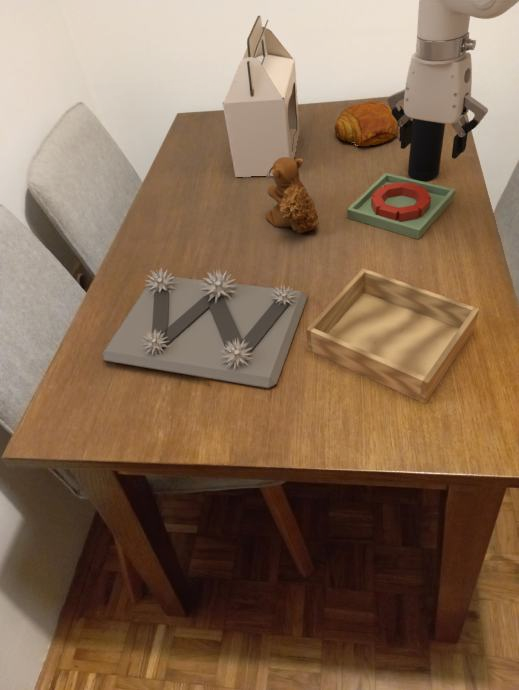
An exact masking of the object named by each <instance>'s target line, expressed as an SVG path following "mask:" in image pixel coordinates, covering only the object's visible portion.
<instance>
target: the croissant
mask: <svg viewBox="0 0 519 690" xmlns="http://www.w3.org/2000/svg"><path fill="white" fill-rule="evenodd" d="M391 112H392V110H391V109H390V106H389V105H386V104H385V103H383V102H382V101H376V100H367V101H363V102H361V103H357V104H353V105H352V106H351V105H350V106H348V107H346V108H345V109H343V111H342V112H341V113H340V114H339V115H338V117H337V119H336V121H335V124H334V132H335V134H336V135H337V134H338V135H337V137H338V139H340V140H341V139H342V140H341V141H344V142H345V141H349V142H355V144H356V145H358V146H361V147H371V146H370V145H373V146H377V145H381V144H380V143H382V144H384V143H383V142H385V143H387V142H388V141H390V140H391V139H393V138H395V137H396V136H398V134H399V133H398V124H397V120H396V119H395V118H394V116H393V115H392V113H391ZM349 142H348V143H349ZM358 146H357V147H358Z"/></svg>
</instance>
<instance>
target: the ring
mask: <svg viewBox="0 0 519 690" xmlns="http://www.w3.org/2000/svg"><path fill="white" fill-rule="evenodd" d="M401 195H403V196H406V197H410V198H414V199H415V200H416V201H417V202H416V203H415V204H414V205H411V206H406V207H400V208H398V207H394V206H391V205H387V204H385V202H384V201H385V200H386V199H387V198H390V197H396V196H401ZM430 203H431V196H430V195H429V193H428V192H427V190H426V189H425V188H422V186H420V185H416V184H412V183H408V182H405V183H404V184H403V183H402V182H397V183H392V184H386V185H384V187H382V186H381V187H380V188H379V189H378V190H376V191H375V192H374V193H373V194H372V197H371V206H372V208H373V210H374V212H375V214H376V215H379V216H381V217H385V218H388V219H392V220H395V221H397V220H399V222H403V221H409V220H415V219H418V217H422V216H423V215H424V214H425V213H426V212H427V210H428V209H429V208H430Z"/></svg>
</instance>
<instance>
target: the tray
mask: <svg viewBox="0 0 519 690" xmlns="http://www.w3.org/2000/svg"><path fill="white" fill-rule="evenodd" d="M397 182H402V183H403V184H404V183H405V182H408V183H412V184H416V185H420V186H422V188H425V189H426V190H427V192H428V193H429V195H430V196H431V203H430V208H429V209H428V210H427V212H426V213H425V214H424V215H423V216H422V217H418V219H415V220H409V221H403V222H399V220H397V221H395V220H392V219H388V218H385V217H381V216H379V215H376V214H375V212H374V210H373V208H372V206H371V197H372V194H373V193H374V192H375V191H376V190H378V189H379V188H380V187H381V186H382V187H384V185H386V184H392V183H397ZM456 191H457V190H456V189H455V188H451V187H446V186H442V185H438V184H434V183H430V182H427V181H418V180H414V179H411V178H410V177H406V176H401V175H397V174H393V173H390V172H389V173H388V172H384V173H383V175H381V176H380V177H379V178H378V179H377V180H376V181H375V182H373V184H371V186H370V187H369V188H368V189H366V190H365V191H364V192H363V193H362V194H361V195H360V196H359V197H358V198H357V199H356V200H355V201H354V202H353V203H351V205H350V206H349V207H347V209H346V219H350V220H353V221H356V222H359V223H363V224H365V225H370V226H372V227H376V228H379V229H381V230H382V229H383V230H386V231H389V232H391V233H395V234H399V235H402V236H406V237H409V238H412V239H416V240H420V239H421V238H422V237H423V235H424V234H425V233H426V232H427V230H428V229H430V228H431V226H432V225H433V224H434V222H436V220H438V218H439V217H440V216H441V215H442V214H443V212H444V211H445V210H446V209H447V208H448V206H449V205H450V204H452V202H454V200H455V197H456ZM384 202H385V204H387V205H391V206H394V207H398V208H400V207H406V206H411V205H414V204H415V203H416V202H417V201H416V200H415V199H414V198H410V197H406V196H403V195H401V196H396V197H390V198H387V199H386V200H385V201H384Z"/></svg>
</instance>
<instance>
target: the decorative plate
mask: <svg viewBox="0 0 519 690" xmlns="http://www.w3.org/2000/svg"><path fill="white" fill-rule="evenodd" d="M218 268H219V269H218V270H216V272H215V269H214V268H213V271H212V272H213V274H212V273H211V272H210V271H206V273H207V275H208V277H209V278H208V277H207V276H206V277H203V276H201V278H202V279H196V278H187V277H178V276H172V274H173V272H170V271H169V268H167V269H166V271H164V272H163V267H161V268H160V270H158V269H157V268H155V271H156V272H155V271H153V270H150V273H151V276H150V275H148V274H146V277H147V279H144V281H145V282H148V283H147V284H145V288H144V289H143V290H142V292H141V294H140V295H139V296H138V299H137V300H136V301H135V303H134V305H133V306H132V308H131V309H130V310H129V312H128V314H127V315H126V316H125V318H124V320H123V321H122V322H121V324H120V326H119V327H118V328H117V330H116V332H115V333H114V335H113V337H112V339H110V341H109V343H108V344H107V345H106V347H105V348H104V350H103V352H102V353H101V356H102V359H103V361H104V362H109V363H114V364H115V363H116V364H122V365H128V366H133V367H140V368H146V369H152V370H157V371H161V372H168V373H175V374H180V375H181V374H182V375H186V376H191V377H192V376H193V377H197V378H199V377H200V378H204V379H210V380H216V381H222V382H228V383H232V384H233V383H234V384H241V385H247V386H252V387H257V388H264V389H270V388H272V387H274V386H276V385H277V384H278V382H279V379H280V376H281V373H282V370H283V368H284V365H285V362H286V360H287V357H288V353H289V351H290V348H291V345H292V344H293V343H292V342H293V339H294V337H295V334H296V331H297V328H298V326H299V323H300V320H301V317H302V314H303V312H304V308H305V306H306V302H307V300H308V295H307V294H306V292H305V291H303V290H293V288H290V287H291V286H290V285H289V286H288V287H287V288H286V285H285V284H283V286H282V284H280V285H279V286H280V288H278V287H268V286H258V285H250V284H242V283H241V284H240V283H234V282H235V281H236V280H237V279H236V278H234V279H230V278H231V275H232V273H229V272H228V270H227V269H226V271H225V272H224V273H223V274H222V273H221V269H220V267H218ZM169 272H170V273H169ZM227 272H228V273H227ZM229 279H230V280H229Z"/></svg>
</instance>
